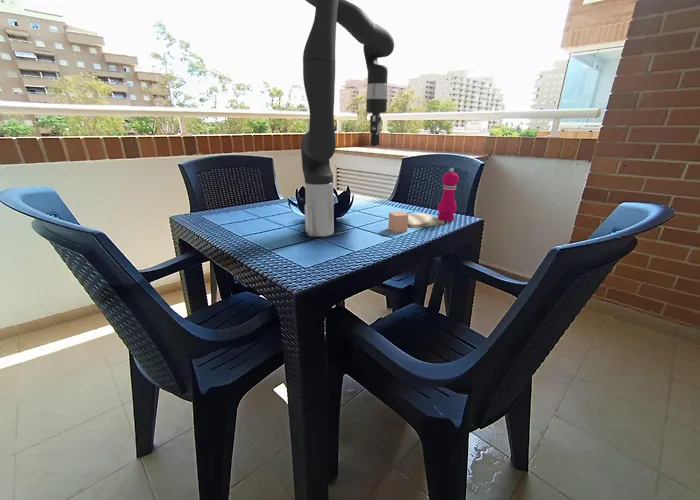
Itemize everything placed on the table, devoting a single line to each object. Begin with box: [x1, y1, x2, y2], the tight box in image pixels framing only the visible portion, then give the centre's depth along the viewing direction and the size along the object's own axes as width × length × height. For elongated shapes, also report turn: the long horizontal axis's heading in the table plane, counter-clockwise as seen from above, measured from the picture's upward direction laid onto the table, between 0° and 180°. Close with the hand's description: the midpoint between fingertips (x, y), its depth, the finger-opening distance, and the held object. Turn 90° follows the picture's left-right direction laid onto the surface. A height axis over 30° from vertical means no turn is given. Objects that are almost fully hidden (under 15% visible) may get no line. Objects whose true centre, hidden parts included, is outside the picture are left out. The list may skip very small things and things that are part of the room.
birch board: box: [407, 212, 445, 228], centre depth 124 cm, size 14×14×1 cm
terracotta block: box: [387, 211, 409, 233], centre depth 112 cm, size 5×5×6 cm
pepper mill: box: [437, 167, 459, 222], centre depth 124 cm, size 7×7×20 cm
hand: (375, 145), depth 121 cm, fingers open, 8 cm apart
